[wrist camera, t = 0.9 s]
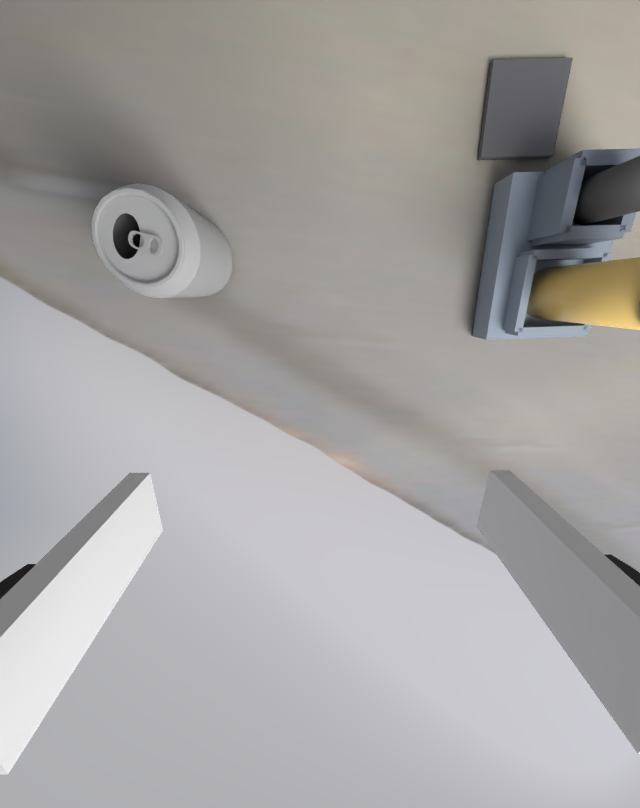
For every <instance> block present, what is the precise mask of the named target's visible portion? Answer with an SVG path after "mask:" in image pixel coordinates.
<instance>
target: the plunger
mask: <svg viewBox="0 0 640 808" xmlns="http://www.w3.org/2000/svg"><path fill="white" fill-rule="evenodd" d="M638 211H640V156H638V157H635V158H633V159H631V160H628V161H626V162H623V163H621V164H619V165H616V166H614V167H612V168H609V169H607V170H605V171H602V172H600V173H597V174H595V175H593V176H590V177H588V178H586V179H584V180H582V184H581V188H580V193H579V197H578V201H577V206H576V210H575V214H574V219H573V222H574V223H576V224H579V225H587V224H591V223H595V222H599V221H602V220H606V219H610V218H614V217H618V216H622V215H626V214H630V213H634V212H638Z"/></svg>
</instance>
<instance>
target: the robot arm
mask: <svg viewBox="0 0 640 808" xmlns="http://www.w3.org/2000/svg"><path fill="white" fill-rule="evenodd" d="M477 528H478V529H479V530H480V532H481V533H482V535H483V536H484V537H485V539H486V540H487V542H488V543H489V544H490V546H491V547H492V549H493V550H494V552H495V553H496V554H497V556H498V557H499V558H500V560H501V561H502V563H503V564H504V565H505V567H506V568H507V570H508V571H509V573H510V574H511V575H512V577H513V578H514V580H515V581H516V583H517V584H518V585H519V587H520V588H521V589H522V591H523V592H524V594H525V595H526V597H527V598H528V599H529V601H530V602H531V604H532V605H533V606H534V607H535V609H536V611H537V612H538V614H539V615H540V616H541V618H542V619H543V621H544V622H545V623H546V625H547V626H548V628H549V629H550V630H551V632H552V633H553V635H554V636H555V637H556V639H557V640H558V642H559V643H560V645H561V646H562V647H563V649H564V650H565V651H566V653H567V654H568V656H569V657H570V658H571V660H572V661H573V663H574V664H575V666H576V667H577V668H578V670H579V671H580V673H581V674H582V676H583V677H584V678H585V680H586V681H587V683H588V684H589V685H590V687H591V688H592V690H593V691H594V692H595V694H596V695H597V697H598V698H599V699H600V701H601V702H602V704H603V705H604V706H605V708H606V709H607V711H608V712H609V714H610V715H611V716H612V717H613V719H614V721H615V722H616V723H617V725H618V726H619V727H620V729H621V730H622V732H623V733H624V735H625V736H626V738H627V739H628V740H629V742H630V743H631V744H632V746H633V747H634V749H635V750H636V751H637V753H638V754H640V573H639V572H638V571H636V570H635V569H634V568H632V567H630V566H629V565H627V564H625V563H624V562H622V561H620V560H619V559H617V558H616V557H614V556H612V555H604V554H603V553H602V552H600V551H599V550H598V549H597V548H596V547H595V546H594V545H593V544H592V543H590V542H589V541H588V540H587V539H586V538H585V537H584V536H583V535H581V534H580V533H579V532H578V531H577V530H576V529H575V528H574V527H572V526H571V525H570V524H569V523H568V522H567V521H566V520H565V519H563V518H562V517H561V516H560V515H559V514H558V513H557V512H556V511H554V510H553V509H552V508H551V507H550V506H549V505H548V504H547V503H545V502H544V501H543V500H542V499H541V498H540V497H539V496H538V495H537V494H535V493H534V492H533V491H532V490H531V489H530V488H529V487H528V486H526V485H525V484H524V483H523V482H522V481H521V480H520V479H519V478H517V477H516V476H515V475H514V474H513V473H512V472H511V471H510V470H490V473H489V477H488V482H487V486H486V490H485V494H484V498H483V502H482V507H481V511H480V515H479V519H478V523H477ZM162 531H163V529H162V524H161V520H160V516H159V511H158V506H157V502H156V497H155V493H154V488H153V483H152V479H151V475H150V473H129V474H128V475H127V476H126V477H125V478H124V479H123V480H122V481H121V482H120V483H119V484H118V485H117V486H116V487H115V488H114V489H113V490H112V491H111V492H110V493H109V494H108V495H107V496H106V497H105V498H104V499H103V500H102V501H101V502H100V503H98V504H97V505H96V507H94V508H93V509H92V510H91V511H90V513H88V514H87V515H86V516H85V517H84V518H83V519H82V520H81V521H80V522H79V523H78V524H77V525H76V526H75V527H74V528H73V529H72V530H71V531H70V532H69V533H68V534H67V535H66V536H65V537H64V538H63V539H62V540H61V541H60V542H58V543H57V544H56V545H55V546H54V547H53V548H52V549H51V550H50V552H49V553H47V554H46V555H45V556H44V557H43V558H42V559H41V560H40V561H39V562H38V563H37V564H27V565H26V566H24V567H23V568H22V569H20V570H18V571H17V572H15V573H14V574H12V575H10V576H9V577H7V578H6V579H4V580H3V581H2V582H0V774H8V773H9V772H10V770H11V769H12V767H13V766H14V764H15V762H16V761H17V759H18V758H19V756H20V754H21V753H22V751H23V750H24V748H25V746H26V745H27V743H28V742H29V740H30V739H31V737H32V736H33V734H34V732H35V731H36V729H37V728H38V726H39V724H40V723H41V721H42V720H43V718H44V717H45V715H46V713H47V712H48V710H49V709H50V707H51V706H52V704H53V702H54V701H55V699H56V698H57V696H58V695H59V693H60V692H61V690H62V688H63V686H64V685H65V684H66V682H67V680H68V679H69V677H70V676H71V674H72V673H73V671H74V669H75V668H76V666H77V665H78V663H79V662H80V660H81V658H82V657H83V655H84V654H85V652H86V651H87V649H88V647H89V646H90V644H91V643H92V641H93V640H94V638H95V636H96V635H97V633H98V632H99V630H100V628H101V627H102V625H103V624H104V622H105V621H106V619H107V617H108V616H109V614H110V613H111V611H112V610H113V608H114V606H115V605H116V603H117V602H118V600H119V599H120V597H121V595H122V594H123V592H124V591H125V589H126V588H127V586H128V584H129V583H130V581H131V579H132V578H133V576H134V575H135V573H136V572H137V570H138V569H139V567H140V565H141V564H142V562H143V561H144V559H145V557H146V556H147V554H148V552H149V551H150V550H151V548H152V546H153V545H154V543H155V542H156V540H157V539H158V537H159V536H160V534H161V532H162Z"/></svg>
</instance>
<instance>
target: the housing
mask: <svg viewBox="0 0 640 808" xmlns="http://www.w3.org/2000/svg"><path fill="white" fill-rule="evenodd" d="M638 156H640V149H606V150H582V151H580V152H579V153H577V154H575V155H573V156H571V157H569V158H567V159H565V160H563V161H562V162H560V163H558V164H556V165H554V166H552V167H550V168H548V169H547V170H545V171H544V172H513V173H512V174H510V175H508V176H507V177H505V178H503V179H502V180H500V181H498V182H497V183H495V184H494V190H493V197H492V204H491V211H490V218H489V224H488V231H487V238H486V245H485V252H484V259H483V265H482V272H481V279H480V286H479V293H478V300H477V307H476V313H475V320H474V327H473V334H472V336H474V337H478V338H482V339H486V340H490V339H520V338H549V337H578V336H587V332H588V329H591V327H592V325H590V324H581V323H572V322H563V321H554V320H545V319H536V318H533V317H531V316H529V315H528V314H527V313H526V311H527V306H528V301H529V296H530V291H531V286H532V281H533V276H534V274H536V273H537V272H539V271H540V270H542V269H545V268H549V267H558V266H567V265H576V264H585V263H594V262H603V261H610V259H611V255H612V252H610V250H611V246H612V243H613V240H614V239H620V238H623V236H624V232H629V231H631V228H632V225H633V221H634V218H635V214H636V212H634V213H630V214H626V215H622V216H618V217H614V218H610V219H606V220H602V221H599V222H595V223H591V224H587V225H579V224H576V223H574V222H573V219H574V214H575V210H576V206H577V201H578V197H579V193H580V188H581V184H582V180H584V179H586V178H588V177H590V176H593V175H595V174H597V173H600V172H602V171H605V170H607V169H609V168H612V167H614V166H616V165H619V164H621V163H623V162H626V161H628V160H631V159H633V158H635V157H638Z"/></svg>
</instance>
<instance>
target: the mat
mask: <svg viewBox="0 0 640 808" xmlns="http://www.w3.org/2000/svg"><path fill="white" fill-rule="evenodd" d="M571 63H572V58H535V59H494V60H493V61H492V62H491V64H490V67H489V75H488V83H487V91H486V99H485V107H484V114H483V122H482V130H481V138H480V146H479V154H478V160H494V159H533V158H550V157H551V156H553V154H554V149H555V144H556V139H557V134H558V129H559V124H560V119H561V114H562V108H563V103H564V98H565V93H566V88H567V83H568V78H569V73H570V68H571Z"/></svg>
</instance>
